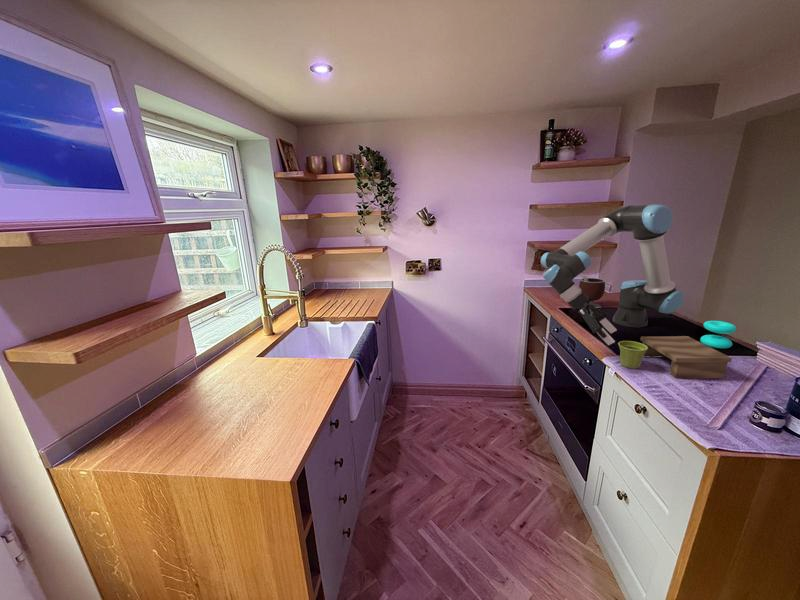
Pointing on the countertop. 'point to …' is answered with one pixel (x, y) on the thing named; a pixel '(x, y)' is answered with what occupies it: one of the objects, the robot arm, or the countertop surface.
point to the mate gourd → (592, 288)
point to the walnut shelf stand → (688, 356)
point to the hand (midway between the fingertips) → (612, 337)
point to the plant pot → (631, 353)
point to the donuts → (715, 339)
